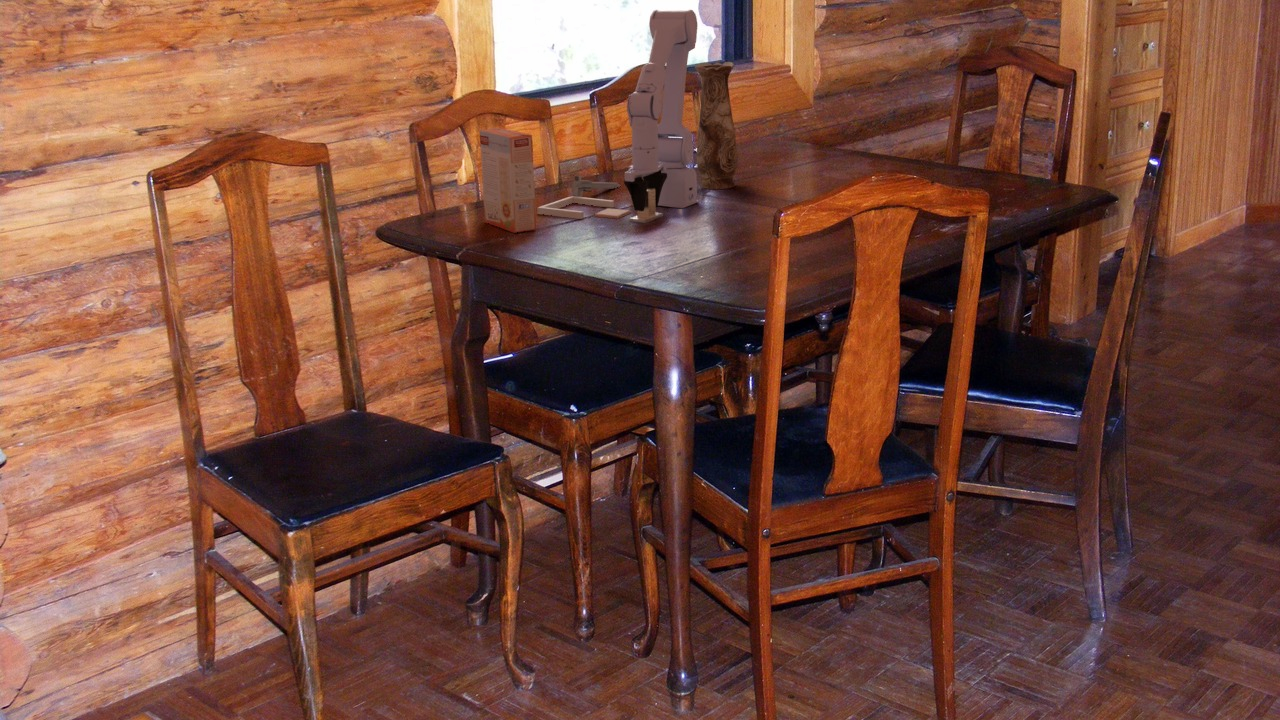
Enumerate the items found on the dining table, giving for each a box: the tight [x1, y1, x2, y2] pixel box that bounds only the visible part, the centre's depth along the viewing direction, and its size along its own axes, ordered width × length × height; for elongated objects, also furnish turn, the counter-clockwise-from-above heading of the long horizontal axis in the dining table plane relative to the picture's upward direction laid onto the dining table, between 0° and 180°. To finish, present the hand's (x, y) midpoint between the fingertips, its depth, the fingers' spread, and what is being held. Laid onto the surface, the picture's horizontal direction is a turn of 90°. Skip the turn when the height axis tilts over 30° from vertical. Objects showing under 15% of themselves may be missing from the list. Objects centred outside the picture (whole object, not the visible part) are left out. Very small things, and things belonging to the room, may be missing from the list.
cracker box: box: [479, 127, 537, 234], centre depth 277 cm, size 14×6×21 cm, turn 34°
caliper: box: [571, 175, 621, 197], centre depth 311 cm, size 20×1×6 cm, turn 149°
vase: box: [694, 61, 739, 190], centre depth 313 cm, size 10×11×30 cm
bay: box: [536, 195, 615, 220], centre depth 294 cm, size 12×14×2 cm
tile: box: [594, 207, 631, 220], centre depth 289 cm, size 6×6×1 cm
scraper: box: [629, 188, 664, 224], centre depth 284 cm, size 4×8×7 cm, turn 149°
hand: (646, 207), depth 284 cm, fingers open, 5 cm apart
